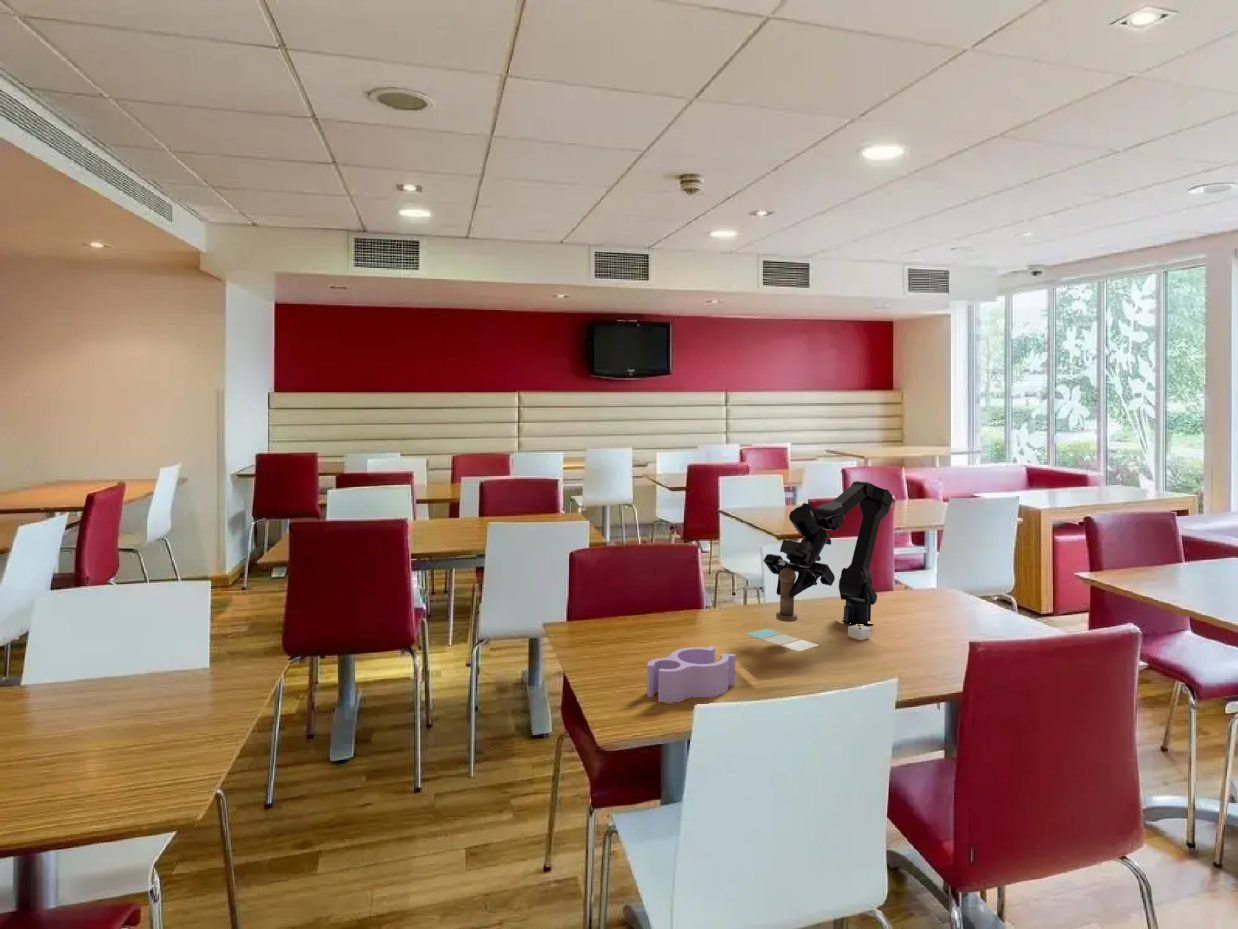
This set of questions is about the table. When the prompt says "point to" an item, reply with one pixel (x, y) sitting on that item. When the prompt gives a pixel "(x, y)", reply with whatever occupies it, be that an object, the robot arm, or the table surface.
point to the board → (782, 639)
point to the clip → (690, 674)
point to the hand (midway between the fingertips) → (783, 595)
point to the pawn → (786, 596)
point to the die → (859, 632)
